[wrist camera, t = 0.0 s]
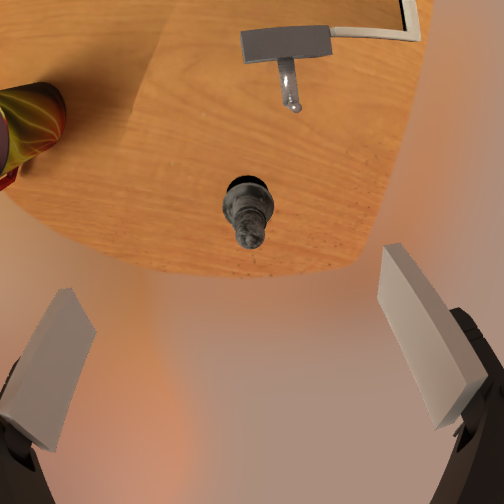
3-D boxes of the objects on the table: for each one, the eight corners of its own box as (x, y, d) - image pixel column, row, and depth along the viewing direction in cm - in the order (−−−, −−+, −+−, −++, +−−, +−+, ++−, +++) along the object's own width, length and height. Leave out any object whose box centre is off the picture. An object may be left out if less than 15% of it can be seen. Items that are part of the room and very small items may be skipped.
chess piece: (230, 221, 40) (227, 277, 30) (218, 178, 37) (210, 224, 27) (275, 211, 40) (287, 265, 30) (266, 168, 37) (277, 209, 27)
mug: (15, 177, 35) (-36, 215, 25) (13, 85, 28) (-46, 100, 17) (66, 182, 36) (18, 223, 26) (68, 80, 29) (10, 91, 19)
